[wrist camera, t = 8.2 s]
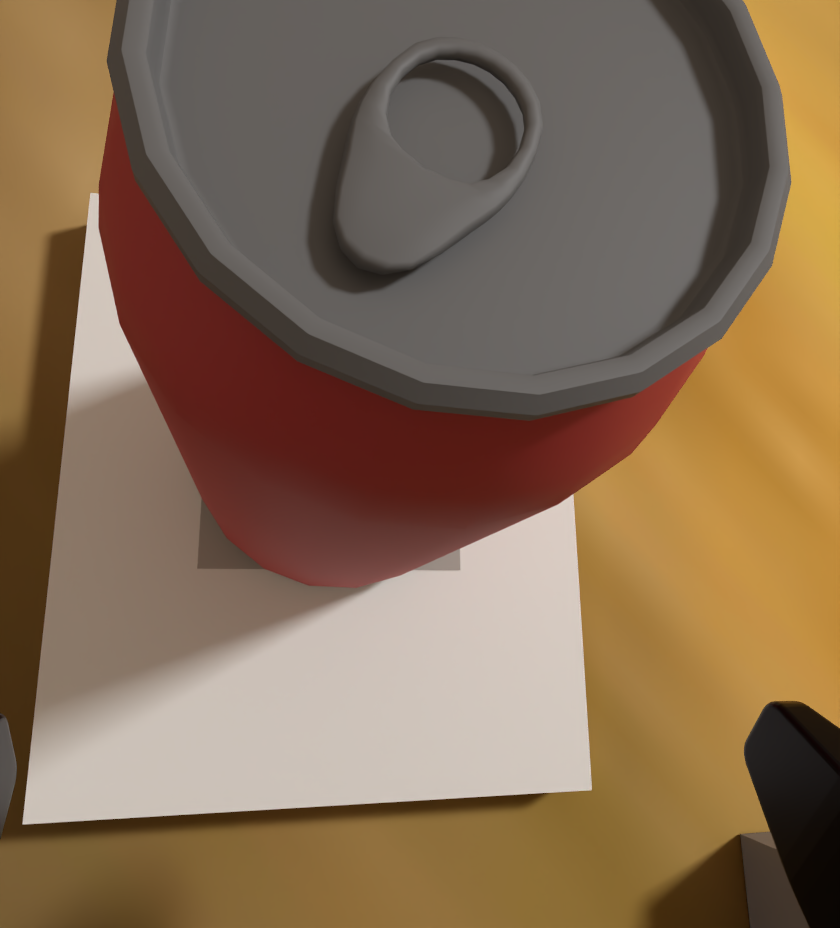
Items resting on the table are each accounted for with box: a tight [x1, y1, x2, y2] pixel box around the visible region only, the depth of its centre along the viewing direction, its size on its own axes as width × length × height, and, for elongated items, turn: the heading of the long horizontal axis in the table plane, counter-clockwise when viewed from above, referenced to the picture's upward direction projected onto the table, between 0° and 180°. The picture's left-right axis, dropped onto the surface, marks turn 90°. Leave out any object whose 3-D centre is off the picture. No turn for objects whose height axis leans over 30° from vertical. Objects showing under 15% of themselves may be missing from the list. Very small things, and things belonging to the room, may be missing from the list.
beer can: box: [98, 0, 791, 588], centre depth 11 cm, size 7×7×12 cm
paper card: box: [22, 193, 592, 825], centre depth 17 cm, size 14×12×1 cm
